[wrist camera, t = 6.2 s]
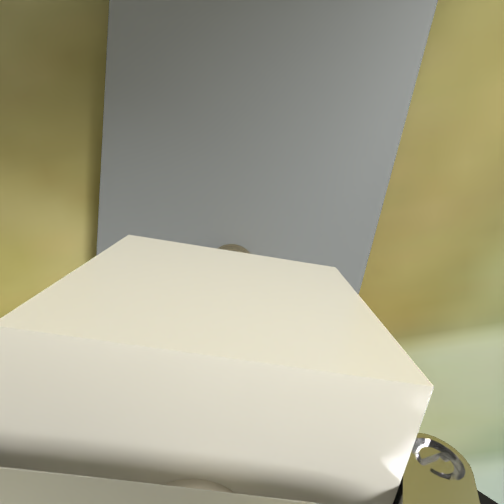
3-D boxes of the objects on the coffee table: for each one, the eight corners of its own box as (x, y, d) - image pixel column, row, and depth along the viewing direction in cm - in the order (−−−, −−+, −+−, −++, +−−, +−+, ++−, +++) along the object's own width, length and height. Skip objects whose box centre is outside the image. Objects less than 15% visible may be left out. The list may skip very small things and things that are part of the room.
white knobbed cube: (128, 234, 11) (-73, 366, 4) (335, 267, 11) (476, 437, 4) (114, 412, 12) (-43, 718, 6) (294, 434, 13) (350, 746, 6)
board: (124, -92, 16) (115, -112, 15) (434, -27, 17) (448, -40, 16) (100, 331, 22) (92, 341, 21) (331, 364, 23) (336, 375, 21)
